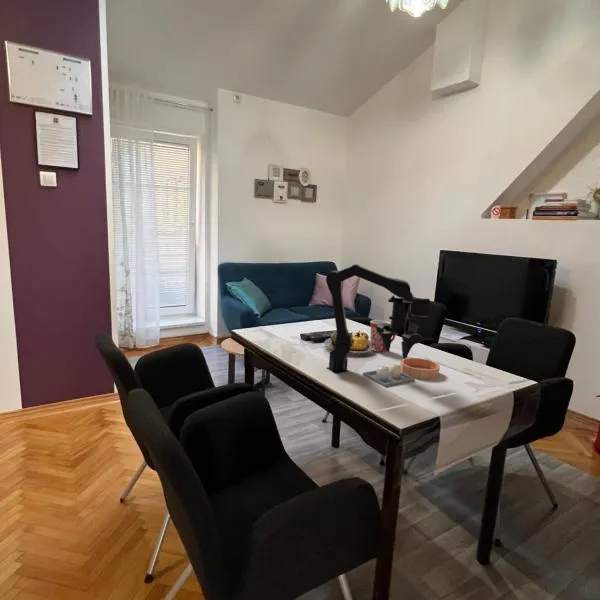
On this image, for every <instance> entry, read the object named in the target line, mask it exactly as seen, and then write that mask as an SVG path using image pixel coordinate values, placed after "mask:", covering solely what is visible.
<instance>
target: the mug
mask: <svg viewBox="0 0 600 600" xmlns="http://www.w3.org/2000/svg"><path fill="white" fill-rule="evenodd" d="M369 323H370V338H369V339H370V344H369V345H370V346H371V347H372V348H374V349H375V350H376V352H375V353H385V352H387V351H386V348H385V346H384V343H383V341H382V339H381V337H380V334H378V331H376V329H377V326H378V324H384V323H388V324H391V322H390V321H387V320H382V319H381V320H380V319H374V320H370V322H369ZM396 336H397V335H396V334H394V335H393V336H392V338H391V344H392V343H393V341H394V340H395V338H396Z"/></svg>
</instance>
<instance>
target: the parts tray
mask: <svg viewBox="0 0 600 600" xmlns="http://www.w3.org/2000/svg"><path fill="white" fill-rule="evenodd" d="M362 375H363V376H364V377H366V378H367V379H369V380H371V381H373V382H374V383H377V384H378V385H380V386H382V387H384V388H386V387H392V386H397V385H402V384H408V383H412V382H415V381H416V378H414V377H410V376H408V375H406V374H404V373H402V372H401V375H400V378H399V379H393V378H390V377H389V376H388V381H380V380H378V379H376V375H377V369H376V370H371V371H365V372H362Z"/></svg>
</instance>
